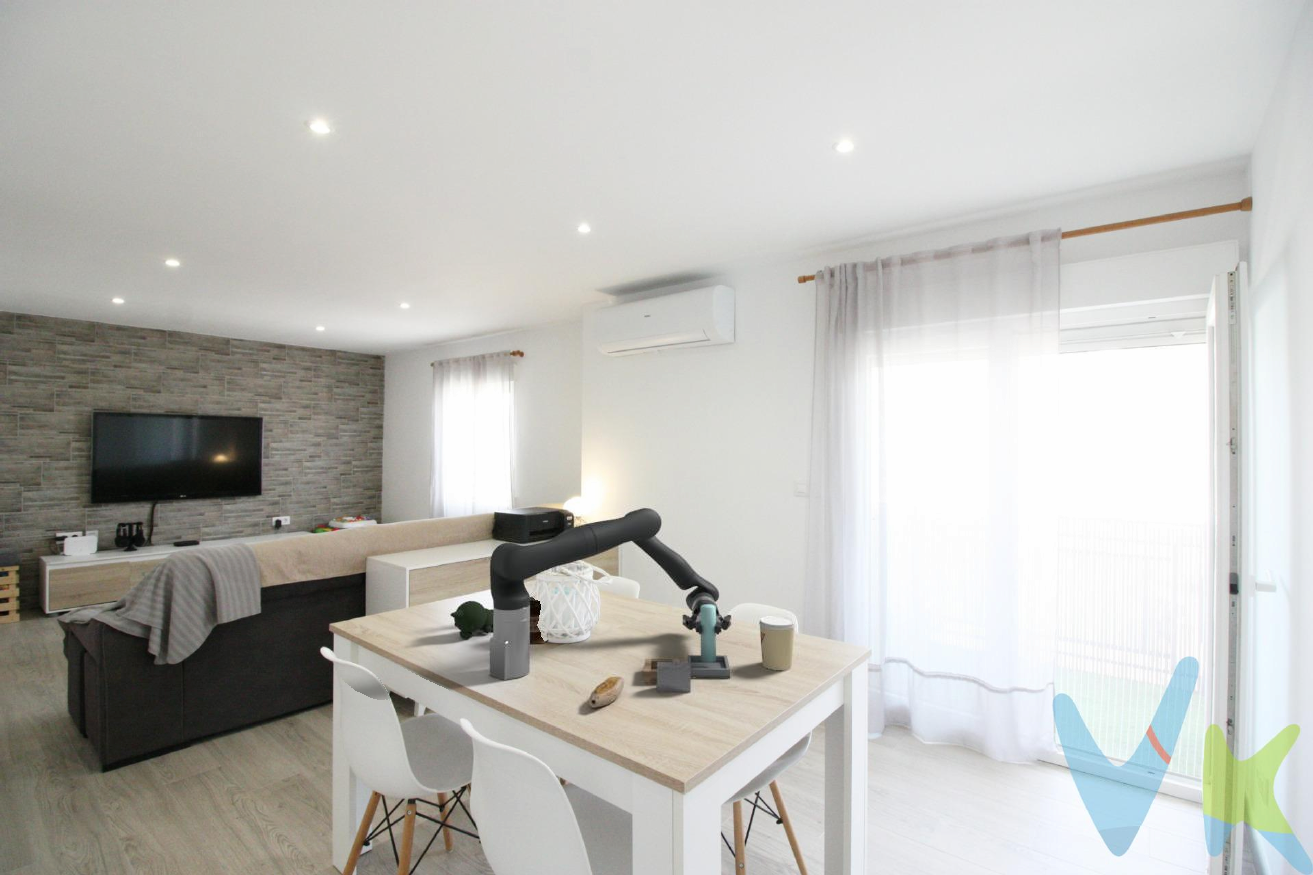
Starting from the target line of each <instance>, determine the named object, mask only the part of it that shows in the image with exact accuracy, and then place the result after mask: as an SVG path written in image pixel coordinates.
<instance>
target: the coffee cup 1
mask: <svg viewBox="0 0 1313 875" xmlns="http://www.w3.org/2000/svg"><path fill="white" fill-rule="evenodd" d="M533 597H534V596H530V644H543V643H545V642H544V640H543V638H542V637H541V632H540V630H539V628H538V626H537V624H538V621H539V615H540V610H541V604H540V601H538V600H535V599H534V598H533Z"/></svg>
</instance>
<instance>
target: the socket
mask: <svg viewBox="0 0 1313 875" xmlns="http://www.w3.org/2000/svg"><path fill="white" fill-rule="evenodd" d="M657 662H681V661H680V658H645V659H644V663H643V664H644V665H643V684H645V685H646V684H648V685H651V684H652V685H657Z"/></svg>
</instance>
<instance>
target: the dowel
mask: <svg viewBox="0 0 1313 875" xmlns="http://www.w3.org/2000/svg"><path fill="white" fill-rule="evenodd" d="M700 655H701V661H703V662H707V663H711V662H715V661H716V655H717V634H716V606H715V605H710V604H705V605H701V634H700Z"/></svg>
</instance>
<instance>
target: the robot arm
mask: <svg viewBox="0 0 1313 875" xmlns="http://www.w3.org/2000/svg"><path fill="white" fill-rule="evenodd" d="M661 527H662V518H661V516H660V514H659V513H658V512H657V511H656V510H654V509H652V508H648V507H642V508H639V509H636V510H632V511H629V512H627V513H626V514H625V515H624V516H622V517H619V518H612V519H605V520H599V521H593V522H589V523H585V524H581V525H577V526H574V527H571V528H568V529H565V530H564V531H562V532H560V533H559V534H558V535H556V536H554V537H553V538H551V539H549V540H547V541H544V542H539V543H534V544H528V545H521V544H517V543H512V542H503V543H501V544H499V545H498V546H496V548H494V550H493V551H492V553H491V557H490V560H489V562H490V563H489V578H490V580H489V581H490V582H489V584H490V585H489V586H490V594H491V598H492V603H493V604H492V605H493V607H492V608H493V629H492V633H493V634H492V635H493V636H492V637H490V638H489V675H490V676H491V677H495V678H497V679H500V680H503V681H508V680H511V679H512V680H513V679H517V678H518V679H519V678H522V677H524V676H526V675H528V674H529V673H530V665H531V664H530V659H531V658H530V657H531V656H530V655H531V654H530V648H531V647H530V644H531V643H530V597H531V596H530V593H529V592H528V590H527V588H526V586H525V580H527V579H530V578H532V577H534V576H537V575H539V574H541V573H543V572H546V571H548V570H550V569H553V568H556V567H560V566H564V565H567V564H571V563H575V562H578V561H582V560H585V559H588V558H591V557H595V556H597V555H599V554H602V553H605V552H607V551H609V550H611V549H614V548H616V547H619V546H620V545H624V544H626V543H629V542H632V543H633V544H635V545H636V546H637V547H638V548H640V549H641V550H642V551H643V552H644V553H645V554H646V555H647V556H649V557H650V558H651V559H652V561H654V562H655V563H656V564H657V565H658V566H660V568H661V569H662V570H663V571H664V572H665V573H666V574H667V575H668V577H669V578H670V579H671V580H672V581H673V583H674V584H675V585H676V586H677V587H678V588H679V589H680V590H682V591H688V590H690V589H692V588H694V587H696V588H695V589H693V590H692V591H690V592H689V593H688V594H687V596H686V597H685V603H686V606H687V608H688V609H689V610H690V611H691V616H690V615H688V614H683V615H682V625H683V626H684V627H685V628H686V629H687V630H689V631H693V630H695V633H698V635H701V605H705V604H710V605H715V606H716V635H720V633H722V631H727V630H728V629H729V628H730V627H731V626H732V615H731V614H727V615H724V616H722V615H721V614H720V612H719V608H718V606H717V603H716V602H717V601H718V600H719V598H720V592H719V590H718V588H717V587H716V586H715V585H714V584H713V583H711V581H709V580H707V579H705V578H704V577H702V576H701V575H700V574H699V573H697V572H696V570H694V569H693V567H692V566H691V565H690V564H689V562H688V561H687V560H686V559H685V558H684V557H683V556H682V555H681V554H679V553H678V552H677V551H675V550H673V549H672V548H670V547H669V546H667V545H666V544H664V543H663V542H662V541H661V540H660V539H659V538H658V537H656V535H657V534H658V533H659V532H660V531H661Z"/></svg>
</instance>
